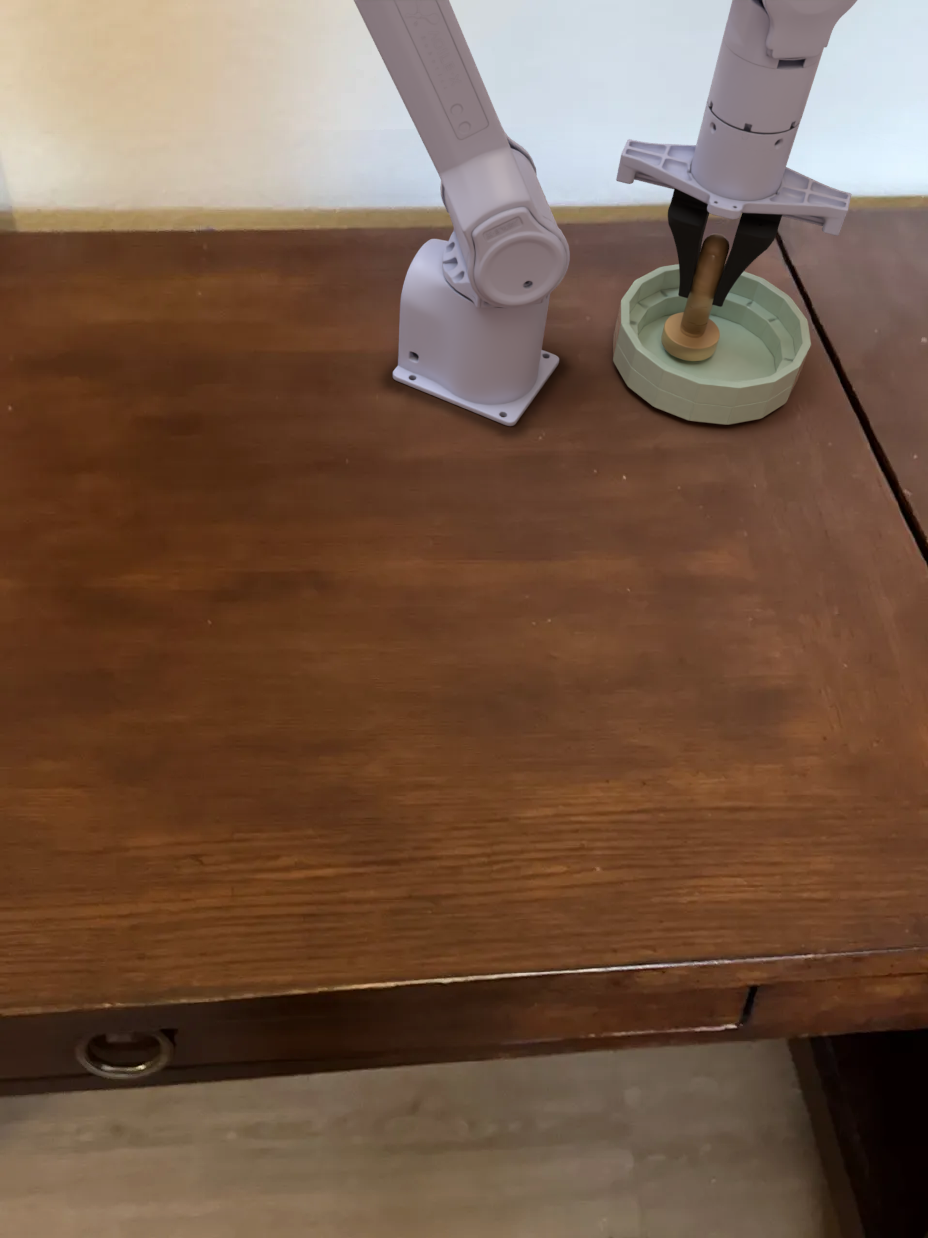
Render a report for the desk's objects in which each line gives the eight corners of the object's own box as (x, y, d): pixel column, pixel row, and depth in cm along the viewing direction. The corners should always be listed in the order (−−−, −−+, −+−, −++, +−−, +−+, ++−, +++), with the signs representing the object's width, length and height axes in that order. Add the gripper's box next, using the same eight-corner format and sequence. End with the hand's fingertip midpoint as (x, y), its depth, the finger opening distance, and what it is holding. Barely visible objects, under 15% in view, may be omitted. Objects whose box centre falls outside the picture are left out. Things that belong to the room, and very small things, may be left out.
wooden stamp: (655, 352, 86) (683, 245, 79) (667, 318, 88) (695, 211, 81) (710, 367, 86) (743, 260, 78) (720, 333, 88) (753, 226, 81)
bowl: (582, 386, 85) (591, 341, 82) (651, 285, 93) (662, 241, 89) (759, 456, 82) (775, 412, 79) (816, 346, 90) (833, 302, 86)
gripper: (622, 112, 71) (586, 300, 82) (866, 171, 69) (797, 355, 80) (648, 56, 75) (611, 241, 86) (879, 110, 74) (812, 293, 84)
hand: (702, 292), depth 84 cm, fingers closed on wooden stamp, 2 cm apart
